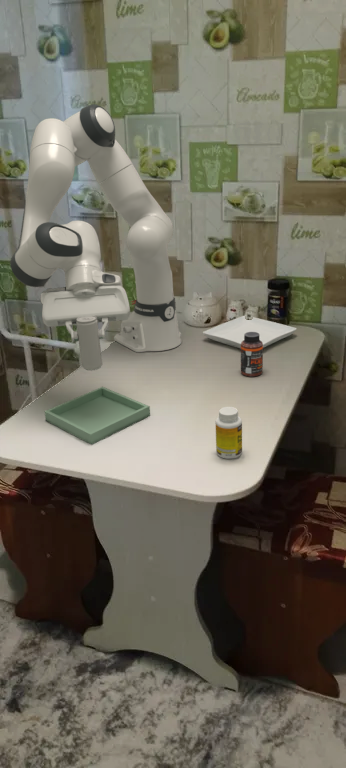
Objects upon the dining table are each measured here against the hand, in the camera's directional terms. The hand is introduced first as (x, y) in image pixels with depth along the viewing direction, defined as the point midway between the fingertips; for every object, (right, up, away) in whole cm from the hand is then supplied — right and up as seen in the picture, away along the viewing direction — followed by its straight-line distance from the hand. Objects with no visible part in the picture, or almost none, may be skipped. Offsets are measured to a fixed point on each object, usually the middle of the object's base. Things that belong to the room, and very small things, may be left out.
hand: (88, 339), depth 148 cm
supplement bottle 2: (+41, -7, +29) cm, 50 cm away
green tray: (+1, -19, +9) cm, 21 cm away
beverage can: (0, -7, +4) cm, 7 cm away
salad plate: (+43, +3, +53) cm, 68 cm away
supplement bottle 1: (+31, -25, -9) cm, 41 cm away
